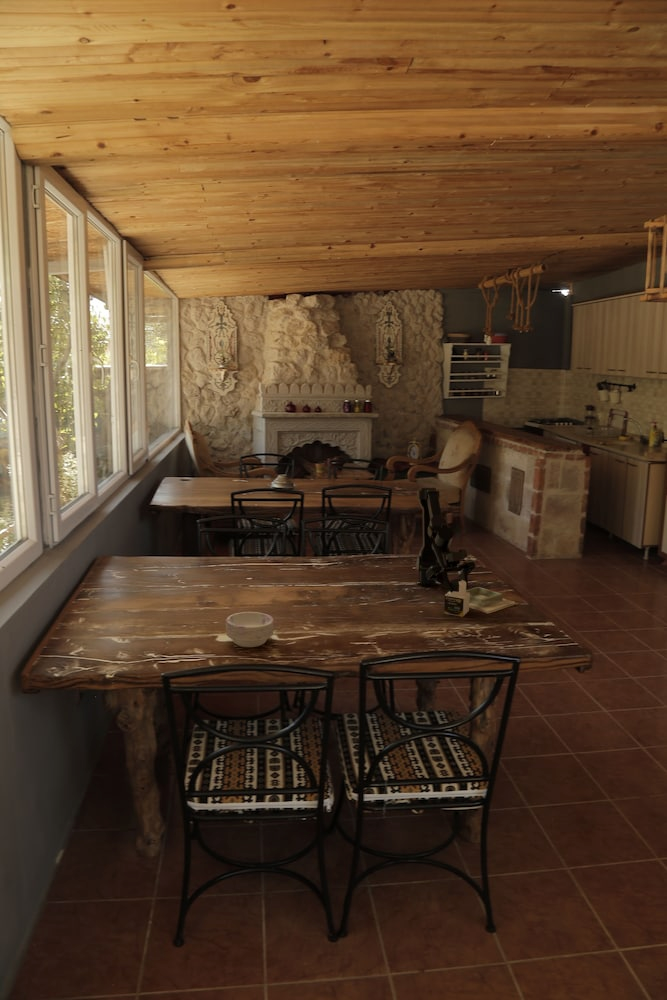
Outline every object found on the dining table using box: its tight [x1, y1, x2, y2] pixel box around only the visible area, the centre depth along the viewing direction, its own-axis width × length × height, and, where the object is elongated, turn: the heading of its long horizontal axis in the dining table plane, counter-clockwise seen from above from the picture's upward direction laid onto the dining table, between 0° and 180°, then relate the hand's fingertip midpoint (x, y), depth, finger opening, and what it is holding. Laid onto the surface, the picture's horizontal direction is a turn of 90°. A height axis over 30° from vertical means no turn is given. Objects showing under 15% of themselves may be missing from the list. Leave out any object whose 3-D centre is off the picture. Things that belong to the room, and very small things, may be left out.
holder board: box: [466, 586, 516, 614], centre depth 286 cm, size 20×16×4 cm
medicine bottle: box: [443, 578, 470, 618], centre depth 273 cm, size 7×7×12 cm
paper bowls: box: [225, 611, 275, 648], centre depth 243 cm, size 15×15×8 cm
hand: (459, 590), depth 272 cm, fingers closed on medicine bottle, 6 cm apart
